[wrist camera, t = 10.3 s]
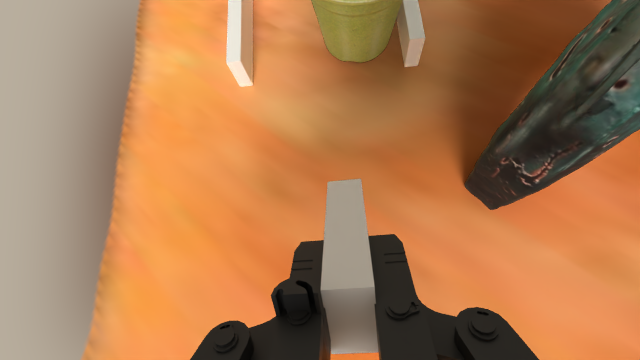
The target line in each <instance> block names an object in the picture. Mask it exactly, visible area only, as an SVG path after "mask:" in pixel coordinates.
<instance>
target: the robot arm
mask: <svg viewBox="0 0 640 360" xmlns="http://www.w3.org/2000/svg"><path fill="white" fill-rule="evenodd" d="M271 298H272V301H273V305H274V309H275V312H276V317H274V318H273V319H271V320H270V321H267V322H265V323H263V324H260V325H257V326H254V327H251V328H248V327H247V326H246V325H245V324H244V323H242V322H240V321H227V322H224V323H221V324H219V325H218V326H216V327H215V328H213V329H212V330H211V331H210V332H209V333H208V334H207V336H206V337H205V338H204V340H203V341H202V343H201V344H200V346H199V347H198V349H197V350H196V352H195V353H194V355H193V356H192V358H191V359H190V360H330V351H331V353H332V354H346V353H373V352H379V359H380V360H539V359H538V358H537V357H536V355H535V354H534V353H533V352H532V351H531V350H530V348H529V347H528V346H527V345H526V344H525V342H524V341H523V340H522V339H521V338H520V337H519V335H518V334H517V333H516V332H515V331H514V330H513V328H512V327H511V326H510V325H509V324H508V322H507V321H505V320H504V319H503V318H502V317H501V316H500V315H499V314H497V313H495V312H493V311H490V310H488V309H484V308H479V307H475V308H467V309H465V310H463V311H461V312H460V313H459V314H458V316H457V317H455V316H450V315H446V314H441V313H438V312H435V311H433V310H431V309H429V308H427V307H426V306H425V305H424V304H422V303H421V301H420V300H419V299H418V297H417V295H416V292H415V288H414V284H413V281H412V277H411V273H410V269H409V266H408V263H407V258H406V254H405V251H404V247H403V243H402V242H401V241H400V240H399V239H398V237H397V236H396V235H395V234H390V235H376V236H368V231H367V223H366V215H365V207H364V199H363V191H362V183H361V179H352V180H341V181H331V182H328V187H327V202H326V217H325V231H324V240H321V241H308V242H301V243H300V245H299V246H298V247H297V249H296V250H295V252H294V258H293V263H292V268H291V274H290V279H287V280H285V281H283V282H281V283H280V284H279V285H278V286H277V287H276V288H274V290H273V292H272V294H271Z"/></svg>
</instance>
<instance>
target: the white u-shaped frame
mask: <svg viewBox="0 0 640 360" xmlns="http://www.w3.org/2000/svg"><path fill="white" fill-rule="evenodd" d="M396 21H397V27H398V32H399V38H400V44H401V50H402V56H403V62H404V67H411V66H418V64H419V60H420V56H421V52H422V49H423V45H424V41H425V33H424V28H423V23H422V18H421V13H420V8H419V3H418V0H403V1H402V4H401V6H400V9H399V12H398V15H397V18H396ZM226 63H227V65H228V66H229V68H230V70H231V72H232V73H233V75H234V77H235V78H236V80H237V82H238V84H239V85H240V87H243V86H251V85H253V0H228V30H227V60H226Z"/></svg>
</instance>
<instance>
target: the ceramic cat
mask: <svg viewBox="0 0 640 360" xmlns="http://www.w3.org/2000/svg"><path fill="white" fill-rule="evenodd" d="M639 129H640V0H612V1H611V2H610V3H608V4H607V5H606V6H605V7H604V8H603V9H602V10H601V11H600V12H599V14H598V15H597V16H596V18H595V19H594V20H593V21H592V22H591V23H590V24H589V25H588V26H587V27H586V28H584V29H583V30H582V31H581V32H580V33H579V34H578V35H577V36H576V37H575V38H574V39H573V40H572V41H571V42H570V43H569V45H568V46H567V47H566V48H565V50H564V51H563V52H562V54H561V55H560V56H559V57H558V59H557V60H556V61H555V62H554V64H553V65H552V66H551V68H550V69H549V70H548V71H547V72H546V73H545V74H544V75H543V76H542V77H541V79H540V80H539V81H538V82H537V83H536V84H535V86H534V87H533V88H532V90H531V91H530V92H529V93H528V95H527V96H526V97H525V99H524V100H523V101H522V102H521V103H520V104H519V106H518V107H517V108H516V109H515V110H514V112H513V113H512V114H511V115H510V116H509V117H508V119H507V120H506V121H505V122H504V123H503V124H502V125H501V126H500V127H499V128H498V129H497V131H496V132H495V134H494V135H493V137H492V139H491V141H490V143H489V145H488V146H487V148H486V149H485V150H484V151H483V153H482V154H481V156H480V158H479V159H478V161H477V162H476V164H475V167H474V169H473V171H472V172H471V174H470V175H469V177H468V179H467V181H466V183H465V185H464V186H465V188H466V189H467V190H468V191H469V192H470V193H472V194H473V195H474V196H475V197H477V198H478V199H480V200H481V201H482V202H483V203H484V204H485V205H486V206H487V207H488V208H489V209H490V210H494V209H497V208H499V207H501V206H505V205H508V204H511V203H513V202H515V201H517V200H519V199H522V198H524V197H526V196H528V195H530V194H533V193H536V192H538V191H540V190H542V189H544V188H546V187H548V186H549V185H551V184H553V183H554V182H556V181H557V180H559V179H561V178H563V177H564V176H566V175H568V174H570V173H572V172H574V171H575V170H577V169H579V168H581V167H582V166H584V165H586V164H587V163H589V162H590V161H592V160H593V159H595V158H596V157H598V156H600V155H601V154H603V153H604V152H606V151H607V150H609V149H610V148H612V147H613V146H615V145H616V144H618V143H620V142H621V141H622V140H624V139H625V138H627V137H628V136H630V135H631V134H632V133H634V132H636V131H638V130H639Z"/></svg>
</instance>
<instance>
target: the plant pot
mask: <svg viewBox="0 0 640 360" xmlns="http://www.w3.org/2000/svg"><path fill="white" fill-rule="evenodd" d="M311 1H312V4H313V7H314V10H315V13H316V16H317V19H318V22H319V25H320V29H321V32H322V35H323V38H324V42H325V45H326V47H327V49H328V50H329V52H330V53H331V54H332V55H333V56H334V57H336V58H337V59H339V60H342V61H355V62H360V63H362V62H366V61H369V60H372V59H374V58H376V57H377V56H378V55H380V54H381V53H382V52H383V51H384V49H385V48H386V46H387V44H388V42H389V39H390V36H391V33H392V30H393V27H394V24H395V21H396V18H397V15H398V12H399V9H400V6H401V4H402V1H403V0H311Z"/></svg>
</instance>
